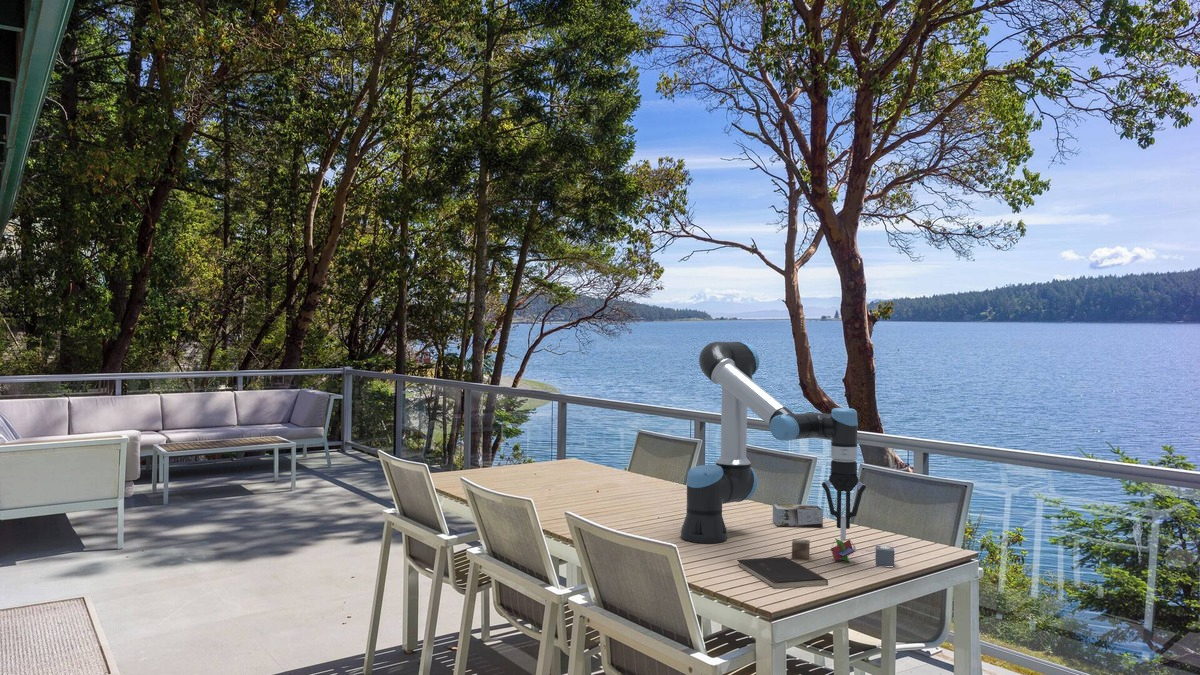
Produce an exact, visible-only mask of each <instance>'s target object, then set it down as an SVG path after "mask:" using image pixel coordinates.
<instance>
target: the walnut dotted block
mask: <svg viewBox="0 0 1200 675" xmlns="http://www.w3.org/2000/svg"><path fill="white" fill-rule="evenodd" d="M810 544H811V540H810V539H798V538H792V542H791V560H799V561H810V554H811V552H810V551H811V550H810V546H811V545H810Z"/></svg>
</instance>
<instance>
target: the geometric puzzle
mask: <svg viewBox="0 0 1200 675" xmlns="http://www.w3.org/2000/svg"><path fill="white" fill-rule="evenodd" d="M834 539H835V541H836V545H835V546H831V547H830V553H832V557H833V560H834V562H839V561H840V560H842V561H843V560H844V562H846V563H849V564H850V560H849V557H848V556H852V557H853V556H854V554H855V553H856V552H857V549H856V545H855V544H854V542H852V541H851V539H847V538H846V540H841V539H839V538H834ZM834 543H835V542H833V544H832V545H834Z"/></svg>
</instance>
